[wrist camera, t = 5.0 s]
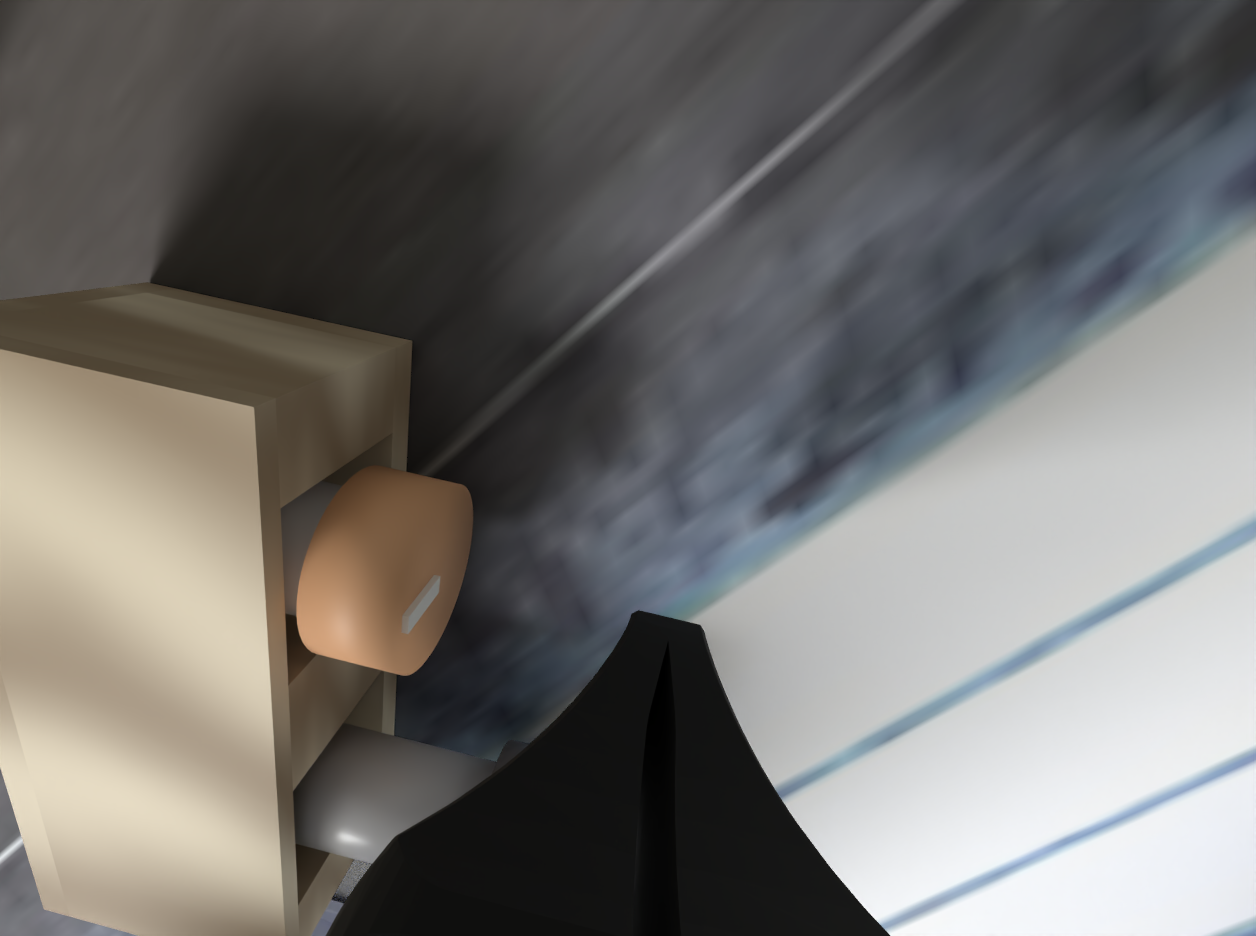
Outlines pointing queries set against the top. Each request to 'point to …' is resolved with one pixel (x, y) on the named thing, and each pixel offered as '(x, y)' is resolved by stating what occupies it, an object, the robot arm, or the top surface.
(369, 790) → the charcoal knob
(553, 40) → the top surface
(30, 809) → the mount
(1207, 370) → the top surface
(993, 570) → the top surface
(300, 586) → the orange knob
